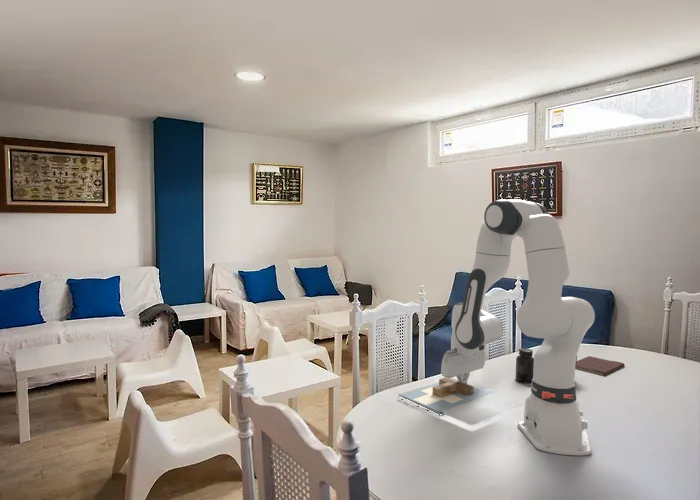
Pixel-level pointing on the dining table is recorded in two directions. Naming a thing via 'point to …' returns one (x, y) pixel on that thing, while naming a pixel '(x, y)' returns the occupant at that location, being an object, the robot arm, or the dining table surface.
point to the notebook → (598, 365)
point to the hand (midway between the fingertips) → (462, 384)
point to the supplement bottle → (524, 366)
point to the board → (439, 404)
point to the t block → (452, 388)
